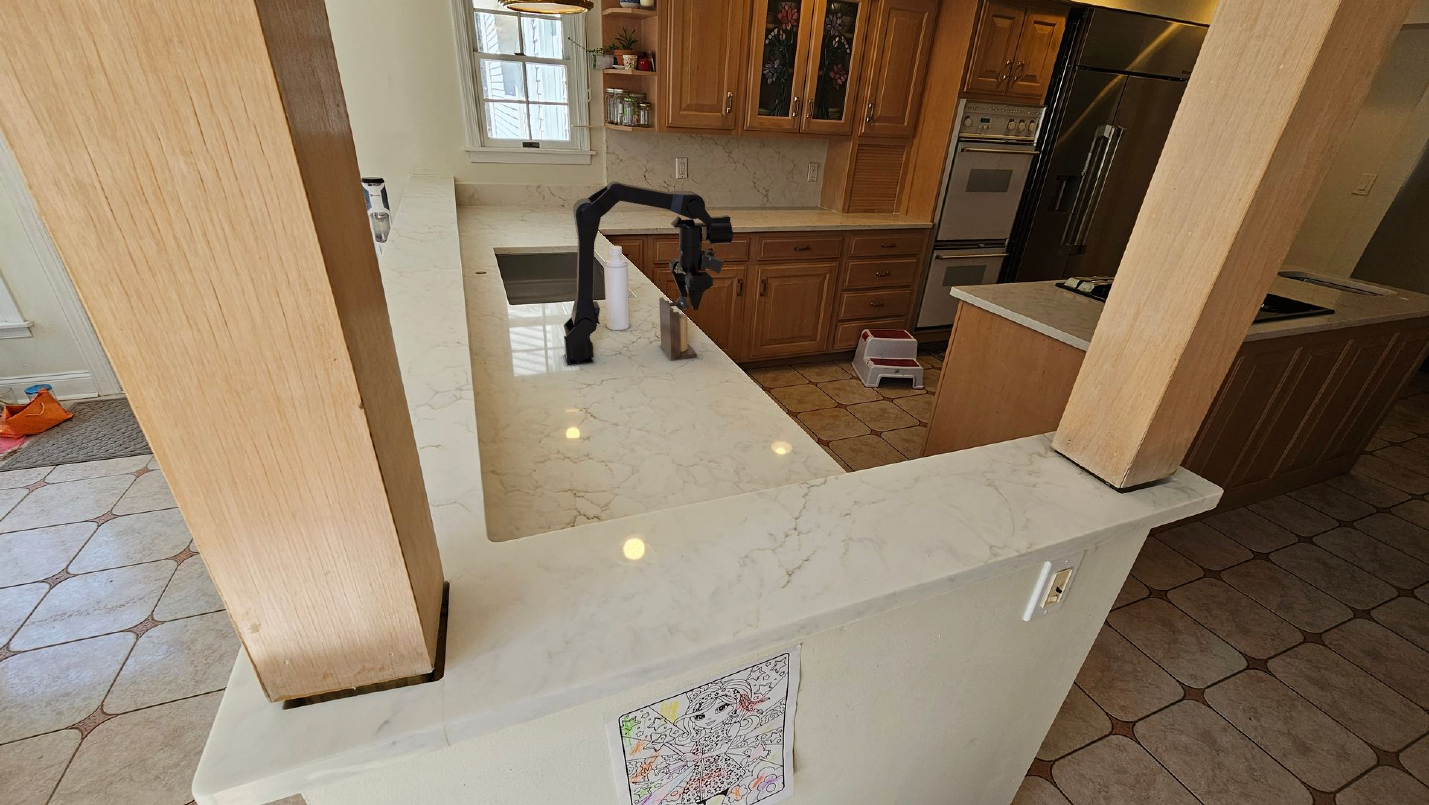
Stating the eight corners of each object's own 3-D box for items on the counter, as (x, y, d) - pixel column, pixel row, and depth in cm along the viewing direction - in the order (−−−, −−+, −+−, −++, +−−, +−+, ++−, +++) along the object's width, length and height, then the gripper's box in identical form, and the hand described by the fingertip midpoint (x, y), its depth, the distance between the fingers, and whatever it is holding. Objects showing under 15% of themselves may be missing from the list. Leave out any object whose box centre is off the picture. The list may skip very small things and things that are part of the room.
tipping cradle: (669, 304, 153) (695, 301, 155) (658, 292, 161) (684, 290, 163) (671, 360, 160) (696, 357, 162) (660, 346, 168) (685, 343, 170)
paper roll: (670, 320, 157) (689, 318, 158) (666, 314, 162) (684, 312, 163) (671, 353, 162) (689, 351, 163) (667, 345, 166) (685, 344, 167)
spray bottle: (633, 325, 182) (632, 240, 171) (620, 331, 177) (617, 245, 165) (615, 320, 185) (612, 237, 173) (602, 327, 179) (598, 241, 168)
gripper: (734, 251, 147) (731, 313, 155) (708, 235, 163) (707, 292, 170) (690, 254, 144) (689, 317, 151) (668, 237, 159) (668, 295, 167)
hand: (689, 304), depth 160 cm, fingers open, 9 cm apart
